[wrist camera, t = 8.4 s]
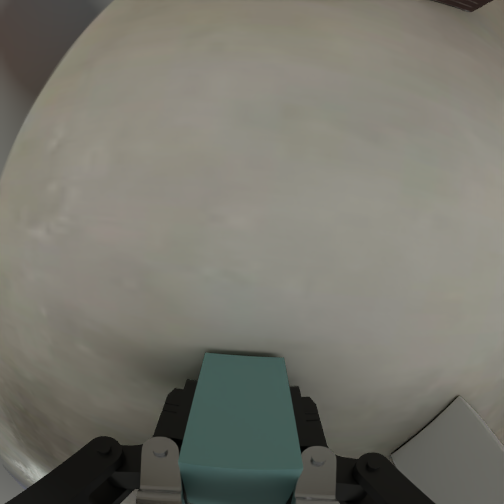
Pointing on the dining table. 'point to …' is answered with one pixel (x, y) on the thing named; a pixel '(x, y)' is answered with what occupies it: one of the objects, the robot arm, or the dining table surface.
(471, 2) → the box
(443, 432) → the milk carton
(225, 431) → the plug
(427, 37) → the dining table surface
